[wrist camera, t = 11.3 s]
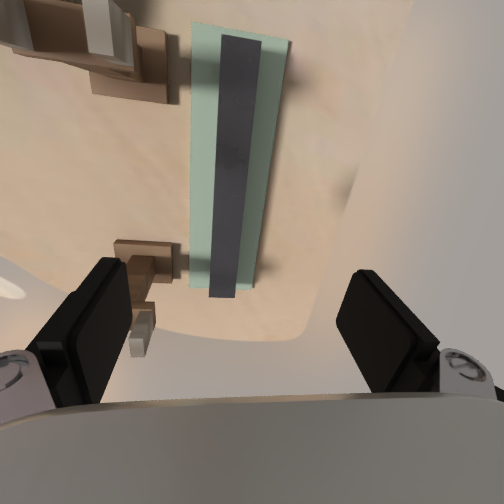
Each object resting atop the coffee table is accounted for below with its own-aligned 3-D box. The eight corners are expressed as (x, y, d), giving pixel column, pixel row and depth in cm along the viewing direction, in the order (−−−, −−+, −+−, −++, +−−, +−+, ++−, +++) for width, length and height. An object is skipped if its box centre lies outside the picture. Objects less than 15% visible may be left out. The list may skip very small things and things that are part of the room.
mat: (192, 23, 21) (191, 21, 21) (287, 40, 22) (288, 39, 22) (189, 285, 33) (189, 287, 32) (251, 288, 34) (251, 289, 34)
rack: (87, 20, 20) (-86, -101, 9) (166, 34, 21) (104, -59, 10) (121, 276, 31) (65, 371, 20) (172, 278, 32) (147, 370, 21)
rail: (221, 43, 21) (221, 33, 19) (256, 49, 22) (261, 40, 19) (209, 282, 32) (208, 297, 30) (233, 283, 33) (234, 297, 30)
